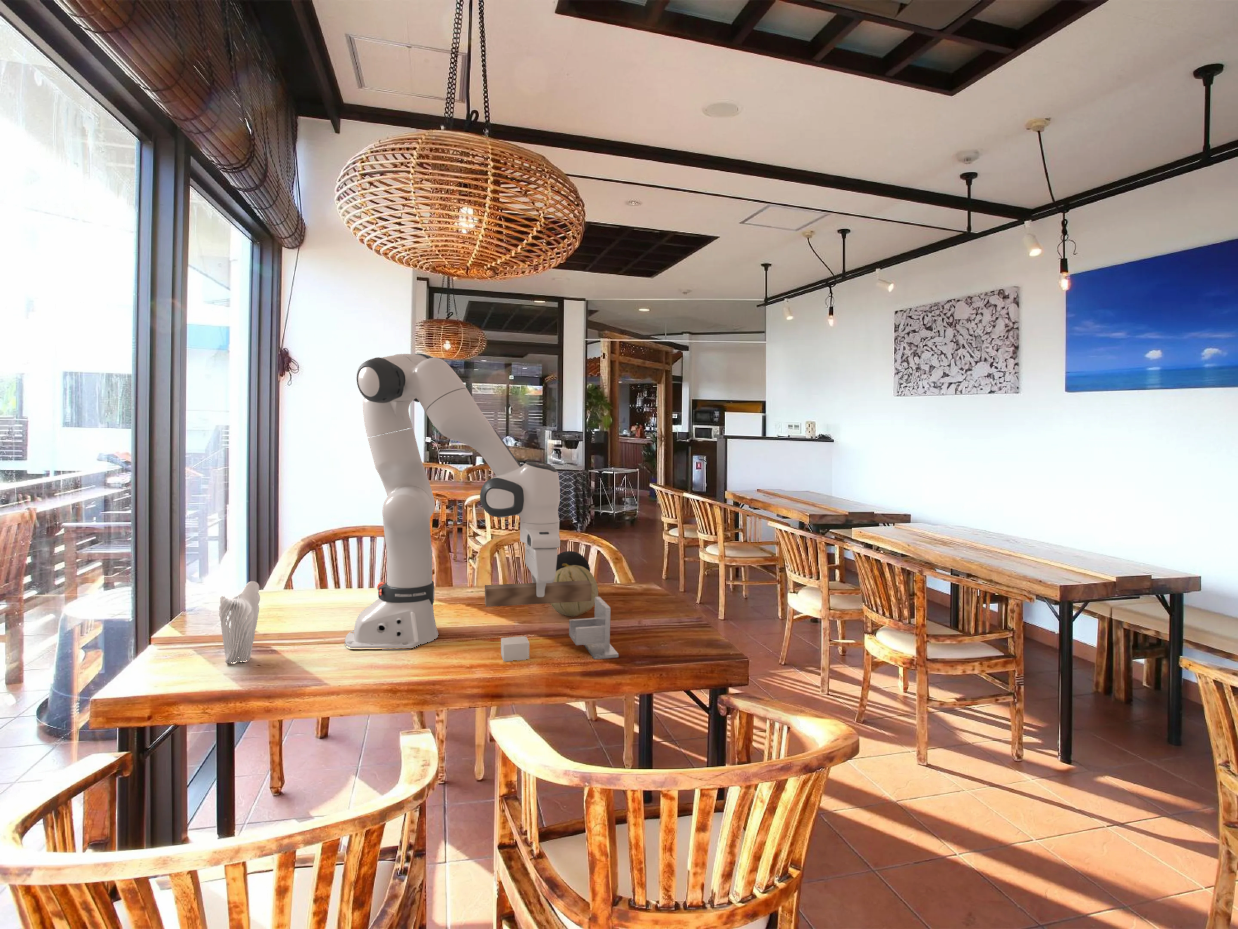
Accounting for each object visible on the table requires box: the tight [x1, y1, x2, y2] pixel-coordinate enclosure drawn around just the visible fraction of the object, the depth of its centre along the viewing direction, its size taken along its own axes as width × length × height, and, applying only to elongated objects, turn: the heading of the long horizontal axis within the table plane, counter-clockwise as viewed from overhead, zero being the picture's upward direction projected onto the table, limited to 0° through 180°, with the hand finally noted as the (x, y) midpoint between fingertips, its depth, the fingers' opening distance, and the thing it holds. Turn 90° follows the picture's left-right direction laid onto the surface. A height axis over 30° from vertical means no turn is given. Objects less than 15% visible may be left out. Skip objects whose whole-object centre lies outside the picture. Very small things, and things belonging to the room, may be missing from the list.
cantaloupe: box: [549, 563, 599, 617], centre depth 195 cm, size 15×15×15 cm
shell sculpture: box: [218, 580, 261, 664], centre depth 153 cm, size 8×8×18 cm
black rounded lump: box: [556, 550, 591, 572], centre depth 213 cm, size 13×13×15 cm
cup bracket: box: [568, 596, 619, 660], centre depth 166 cm, size 10×12×12 cm
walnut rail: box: [484, 580, 592, 608], centre depth 155 cm, size 24×4×4 cm, turn 106°
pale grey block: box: [500, 635, 530, 662], centre depth 161 cm, size 6×5×4 cm
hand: (538, 593), depth 155 cm, fingers closed on walnut rail, 3 cm apart
